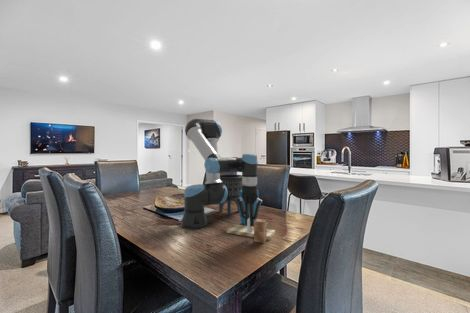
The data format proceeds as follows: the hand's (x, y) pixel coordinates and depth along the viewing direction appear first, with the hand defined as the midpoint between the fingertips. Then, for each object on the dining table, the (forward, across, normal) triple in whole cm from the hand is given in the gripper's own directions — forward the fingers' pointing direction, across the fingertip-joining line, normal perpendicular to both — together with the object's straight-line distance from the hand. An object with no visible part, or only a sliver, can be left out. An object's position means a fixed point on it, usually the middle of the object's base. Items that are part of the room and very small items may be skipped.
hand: (249, 232), depth 112 cm
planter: (+4, -30, +39) cm, 49 cm away
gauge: (+4, +6, +4) cm, 7 cm away
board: (+4, -2, +8) cm, 9 cm away
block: (+4, -10, +23) cm, 25 cm away
